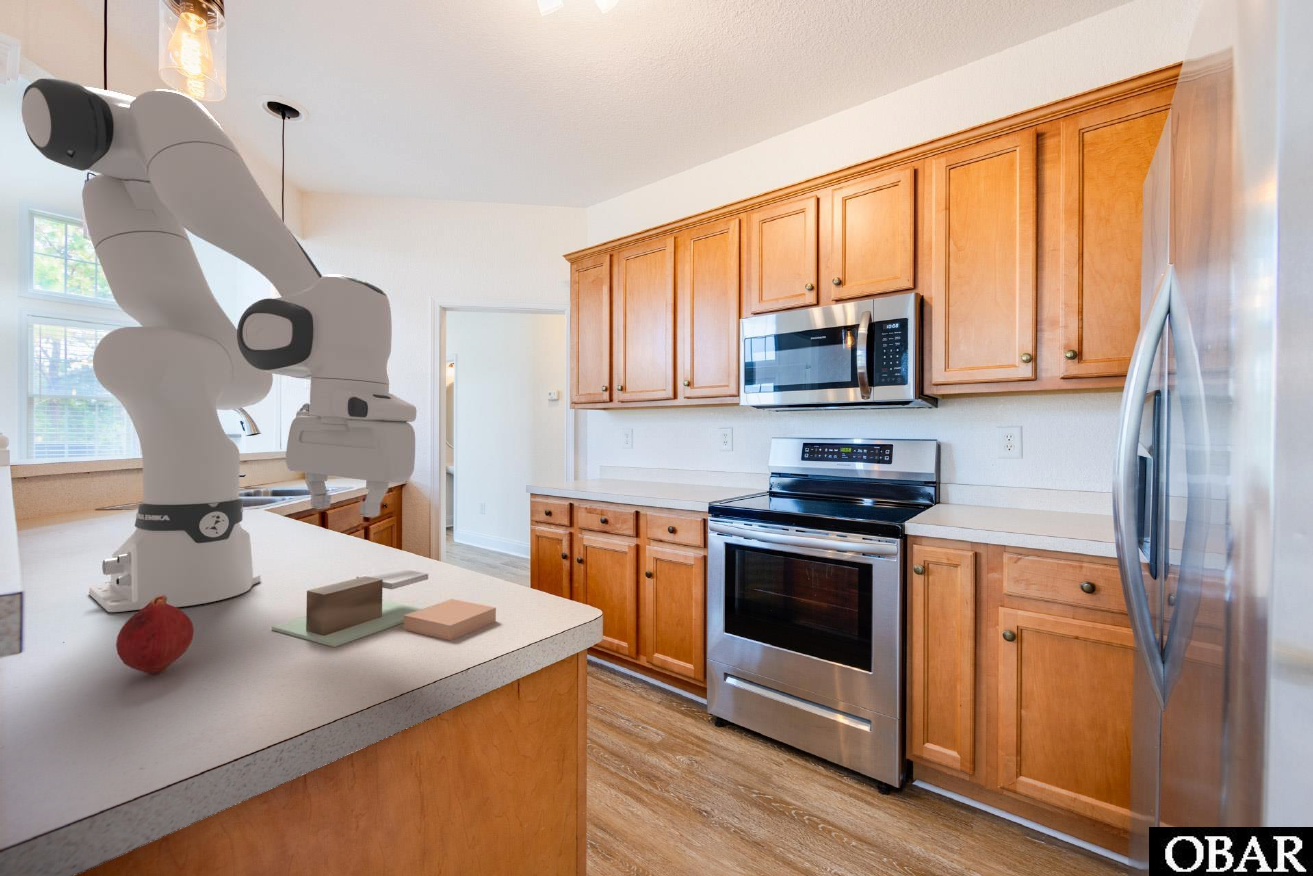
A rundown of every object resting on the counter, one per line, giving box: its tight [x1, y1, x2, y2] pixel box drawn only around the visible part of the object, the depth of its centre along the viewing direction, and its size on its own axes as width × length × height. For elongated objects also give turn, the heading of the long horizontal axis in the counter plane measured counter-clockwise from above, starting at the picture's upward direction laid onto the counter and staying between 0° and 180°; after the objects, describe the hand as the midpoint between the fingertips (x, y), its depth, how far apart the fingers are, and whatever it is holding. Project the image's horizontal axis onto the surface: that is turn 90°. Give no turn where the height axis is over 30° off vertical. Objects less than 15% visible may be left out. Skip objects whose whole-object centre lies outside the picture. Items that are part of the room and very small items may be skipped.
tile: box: [403, 598, 497, 641], centre depth 73 cm, size 8×2×8 cm
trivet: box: [271, 599, 423, 648], centre depth 74 cm, size 12×14×1 cm
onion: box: [115, 595, 195, 675], centre depth 57 cm, size 6×6×8 cm
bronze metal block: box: [305, 567, 429, 636], centre depth 74 cm, size 7×14×5 cm, turn 155°
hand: (344, 512), depth 71 cm, fingers open, 8 cm apart
